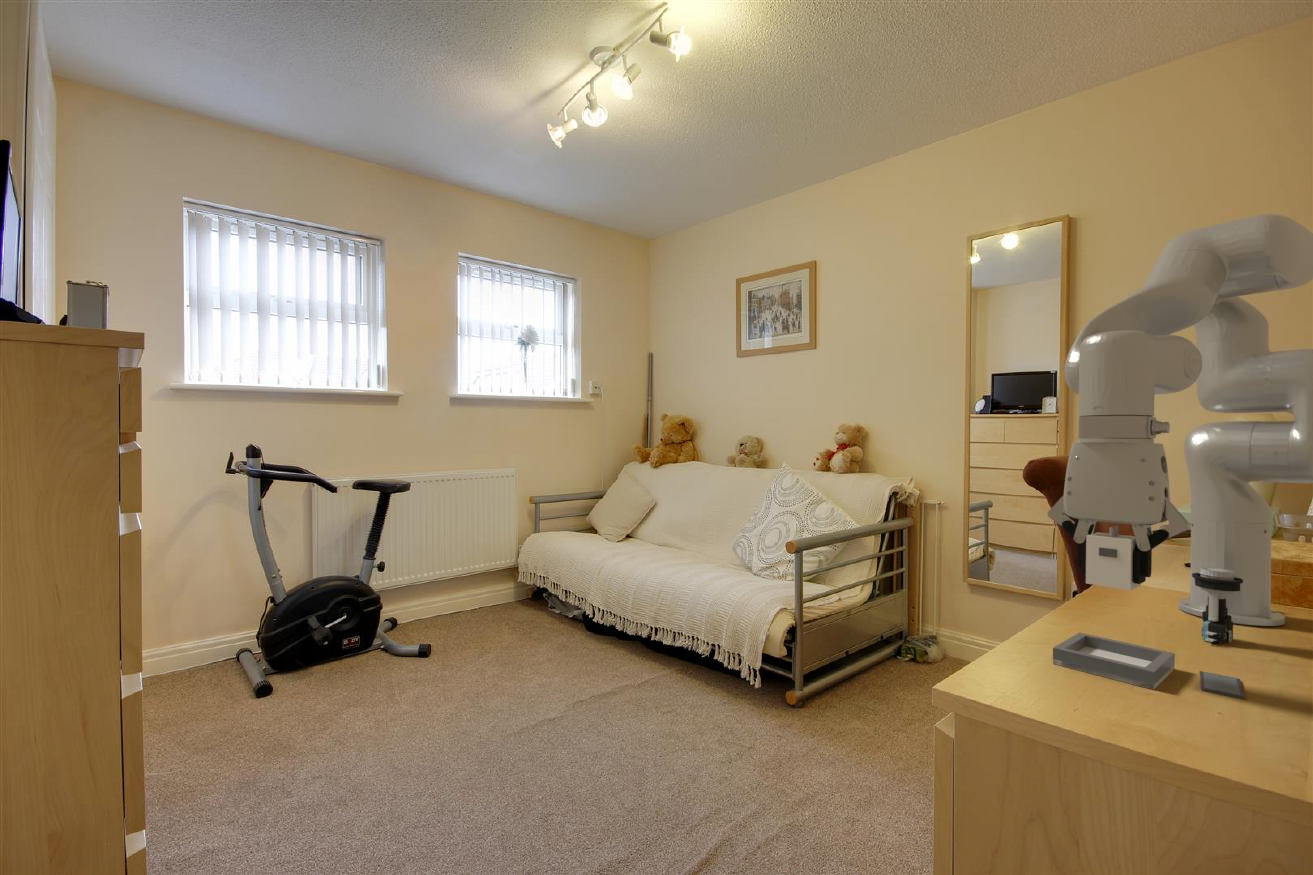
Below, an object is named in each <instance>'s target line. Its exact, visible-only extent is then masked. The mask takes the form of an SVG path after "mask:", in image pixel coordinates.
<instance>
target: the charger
mask: <svg viewBox="0 0 1313 875" xmlns="http://www.w3.org/2000/svg"><path fill="white" fill-rule="evenodd" d="M1108 529H1109V530H1108V531H1109V532H1108V533H1107V532H1106V533H1105V532H1095V533H1094V532H1093V534H1090V535H1086V576H1085V584H1088V585H1094V586H1100V587H1106V588H1112V589H1117V590H1118V589H1119V590H1126V591H1133V590H1134V589H1137V588H1139V587H1141V586H1142V585H1141V584H1142V583H1141V584H1136V583H1134V582H1133V581H1132V573H1133V551H1134V550H1136V545H1137V542H1136V539H1135V535H1124V534H1119V526H1118V525H1114V526H1109V527H1108Z"/></svg>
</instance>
